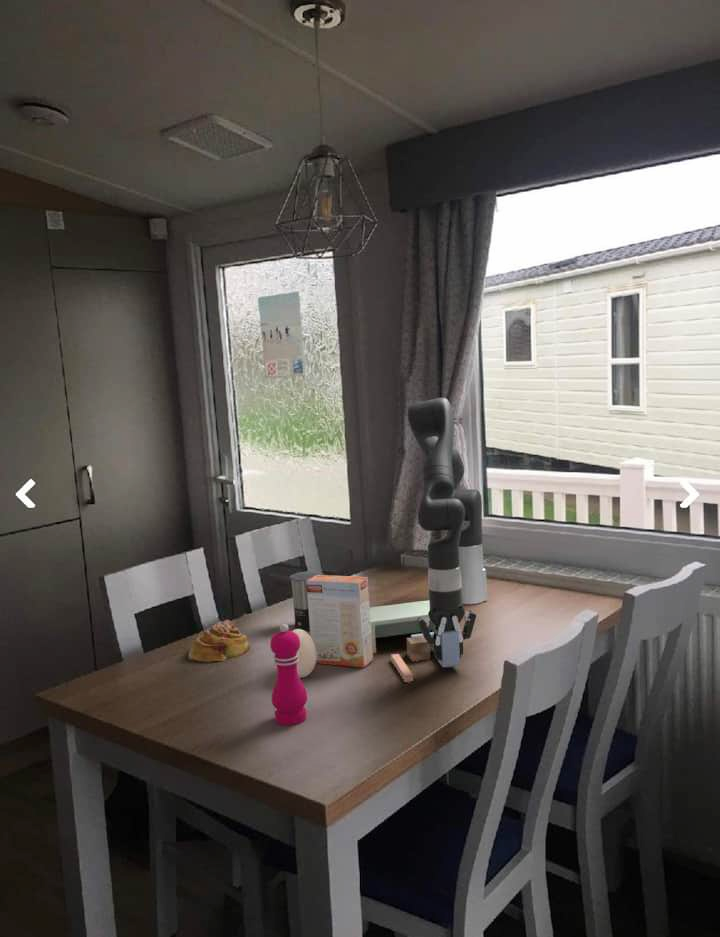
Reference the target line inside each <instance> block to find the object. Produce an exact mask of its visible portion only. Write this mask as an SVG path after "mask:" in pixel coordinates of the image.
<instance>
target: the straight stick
mask: <svg viewBox="0 0 720 937" xmlns="http://www.w3.org/2000/svg"><path fill="white" fill-rule="evenodd" d="M390 661H391V663H392V664H394V665H393V666H394V668H395V667H396V668H397V669H396V668H395V669H396V670H398V671H397V672H398V673H400V674H399V675H400V677H401V676H402V677H401V678H402V680H403V679H404V680H403V682H404V683H405V682H408V681H413V682H414V675H413V673H412V671H411V669H410V668H409V667H408V665H407V664H406V663H405V661H404V660H403V658H402V656H401V655H400V654H399V653H393V654H392V653H391V654H390ZM408 683H409V682H408Z"/></svg>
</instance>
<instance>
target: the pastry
mask: <svg viewBox="0 0 720 937" xmlns="http://www.w3.org/2000/svg"><path fill="white" fill-rule="evenodd" d="M250 647H251V646H250V643H249V642H248V638H247V636H246V635H245V634H242V633H241V631H240V630H239V628H237V627H236V625H235V624H234V622H233V621H230V620H229V619H226V620H224V621H219V622H217V623H215V624H214V625H212V626H211V628H208V629H207V630H205V631H204V632H202V633H200V635H199V636H198V637H196V639H195V641H194V643H193V645H192V646H191V647H190V648H191V649H190V650H189V652H188V655H187V657H189V658H190V659H189V658H188V659H189V660H191V659H193V660H192V661H194V660H197V661H206V662H205V663H208V662H207V661H222V662H224V661H226V660H228V659H232V658H237V657H239V656H242V654H243V655H245V654H246V653H247V652H248V651H249V650H250ZM231 657H232V658H231ZM227 658H228V659H227ZM225 659H226V660H225ZM223 660H224V661H223ZM197 661H196V662H197Z"/></svg>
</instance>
